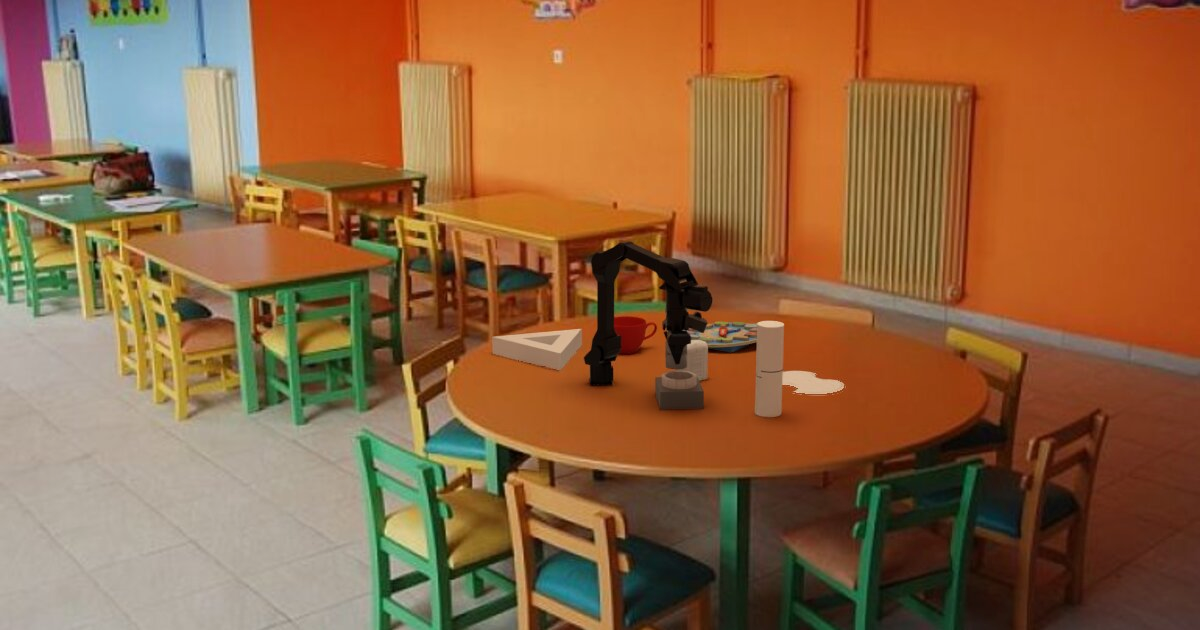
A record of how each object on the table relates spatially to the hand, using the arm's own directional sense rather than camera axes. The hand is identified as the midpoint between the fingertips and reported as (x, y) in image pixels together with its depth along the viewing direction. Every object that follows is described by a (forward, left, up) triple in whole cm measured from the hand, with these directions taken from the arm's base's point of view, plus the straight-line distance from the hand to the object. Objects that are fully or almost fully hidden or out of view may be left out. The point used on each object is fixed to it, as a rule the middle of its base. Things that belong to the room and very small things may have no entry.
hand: (676, 361), depth 336 cm
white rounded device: (+7, +19, -12) cm, 24 cm away
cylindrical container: (+24, -12, -12) cm, 29 cm away
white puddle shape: (+40, +14, -13) cm, 44 cm away
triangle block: (-35, +44, -13) cm, 58 cm away
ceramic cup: (-8, +53, -12) cm, 55 cm away
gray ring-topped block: (+1, 0, -12) cm, 12 cm away
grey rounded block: (0, 0, -2) cm, 2 cm away
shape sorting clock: (+23, +62, -12) cm, 67 cm away
